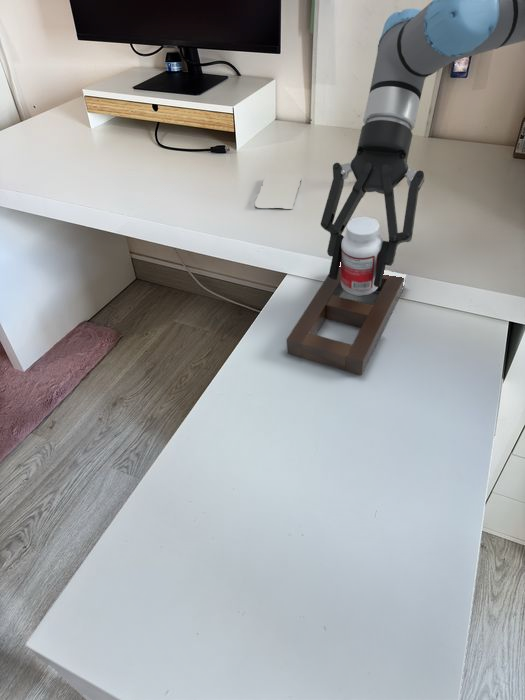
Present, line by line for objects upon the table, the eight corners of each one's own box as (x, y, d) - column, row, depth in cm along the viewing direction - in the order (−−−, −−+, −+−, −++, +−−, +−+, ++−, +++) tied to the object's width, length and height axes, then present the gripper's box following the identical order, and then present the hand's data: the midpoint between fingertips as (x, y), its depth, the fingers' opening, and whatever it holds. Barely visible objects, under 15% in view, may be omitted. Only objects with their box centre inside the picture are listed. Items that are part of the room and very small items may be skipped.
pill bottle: (362, 268, 84) (365, 209, 76) (387, 286, 80) (393, 226, 72) (332, 283, 82) (332, 224, 74) (357, 302, 78) (360, 242, 70)
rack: (404, 287, 85) (406, 273, 83) (361, 375, 72) (362, 361, 70) (338, 272, 89) (338, 258, 87) (287, 353, 77) (286, 339, 75)
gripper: (454, 143, 75) (420, 295, 77) (330, 133, 81) (301, 275, 83) (455, 121, 68) (418, 290, 70) (319, 113, 74) (288, 268, 76)
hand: (354, 281), depth 76 cm, fingers closed on pill bottle, 6 cm apart
